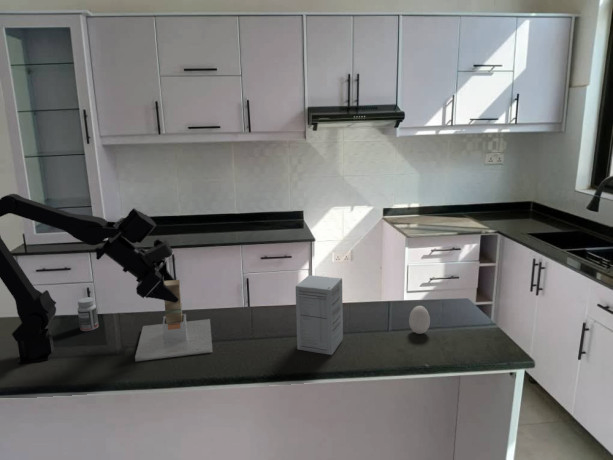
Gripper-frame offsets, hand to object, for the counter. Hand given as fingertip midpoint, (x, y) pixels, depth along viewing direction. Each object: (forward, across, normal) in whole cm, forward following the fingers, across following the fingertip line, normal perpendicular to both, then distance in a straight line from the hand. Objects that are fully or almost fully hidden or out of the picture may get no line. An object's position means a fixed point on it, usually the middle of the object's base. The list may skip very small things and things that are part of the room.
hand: (178, 294), depth 118 cm
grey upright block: (+33, -12, -15) cm, 38 cm away
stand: (+8, 0, +10) cm, 13 cm away
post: (+4, 0, +6) cm, 7 cm away
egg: (+52, -12, -34) cm, 64 cm away
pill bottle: (-9, +15, +27) cm, 32 cm away
